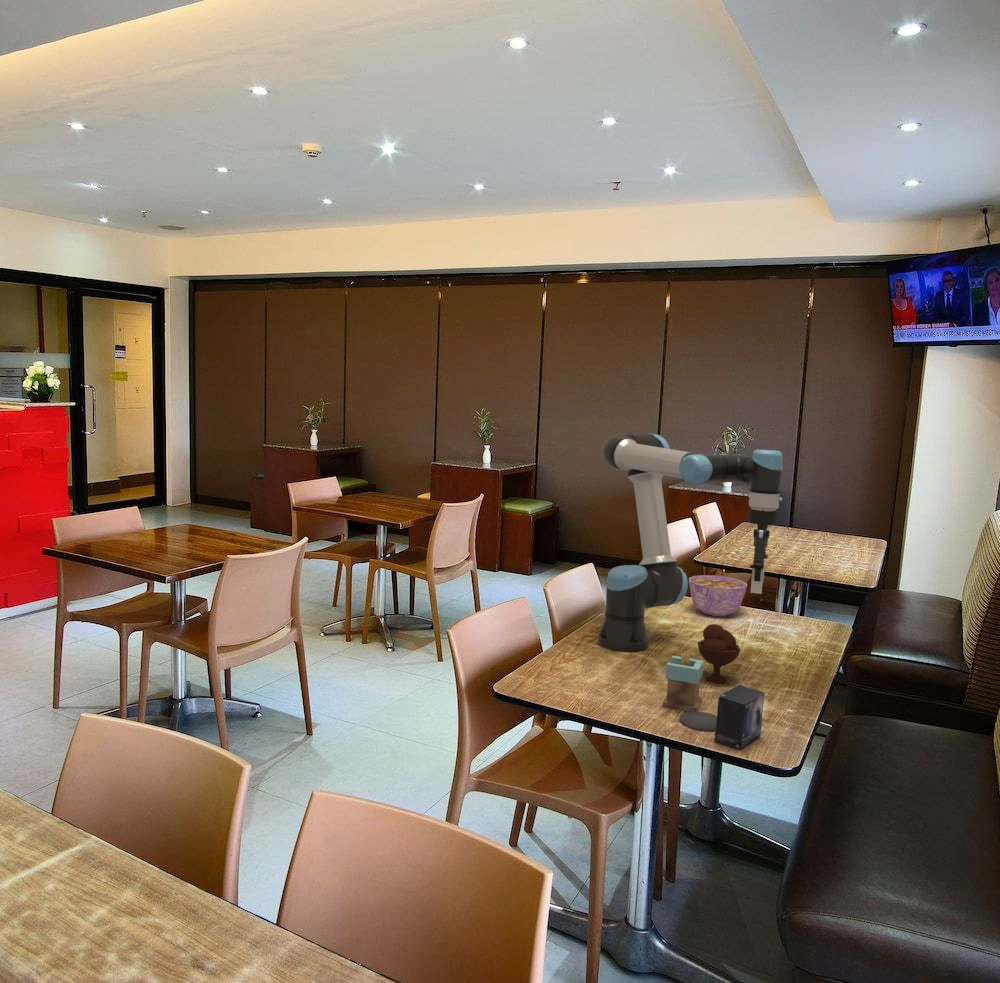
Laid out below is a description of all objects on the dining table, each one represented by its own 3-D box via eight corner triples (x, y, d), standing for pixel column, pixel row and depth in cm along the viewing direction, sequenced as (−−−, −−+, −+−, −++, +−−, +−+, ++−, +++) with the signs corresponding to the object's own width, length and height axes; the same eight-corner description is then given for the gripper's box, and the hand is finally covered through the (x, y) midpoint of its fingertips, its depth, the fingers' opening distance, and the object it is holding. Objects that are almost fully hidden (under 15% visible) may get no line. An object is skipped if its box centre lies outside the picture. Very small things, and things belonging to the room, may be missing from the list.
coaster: (675, 725, 178) (675, 723, 178) (683, 710, 187) (683, 708, 187) (720, 734, 174) (721, 732, 174) (726, 718, 184) (726, 716, 184)
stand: (662, 706, 189) (665, 656, 188) (669, 695, 197) (672, 647, 195) (696, 713, 186) (699, 662, 185) (701, 701, 194) (705, 652, 192)
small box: (741, 751, 166) (745, 703, 165) (713, 741, 171) (716, 695, 170) (762, 737, 174) (766, 691, 173) (734, 728, 179) (738, 683, 177)
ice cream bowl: (715, 689, 202) (719, 633, 201) (686, 675, 212) (690, 621, 210) (746, 684, 207) (750, 628, 206) (716, 670, 217) (720, 617, 215)
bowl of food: (688, 618, 269) (690, 585, 268) (684, 604, 289) (686, 573, 288) (748, 623, 266) (751, 590, 265) (740, 608, 286) (743, 577, 284)
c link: (665, 678, 189) (666, 664, 188) (671, 669, 196) (672, 655, 195) (697, 684, 186) (698, 669, 185) (702, 674, 193) (703, 660, 192)
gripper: (777, 515, 194) (770, 599, 197) (779, 504, 218) (772, 579, 220) (746, 513, 197) (739, 596, 199) (750, 502, 220) (744, 576, 223)
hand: (757, 587), depth 210 cm, fingers open, 13 cm apart
